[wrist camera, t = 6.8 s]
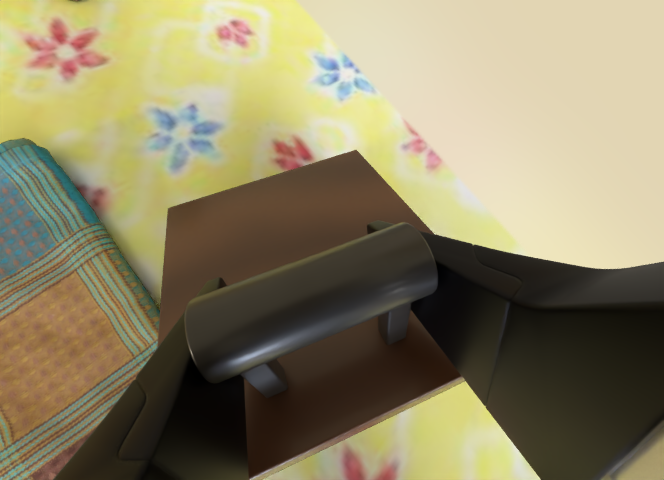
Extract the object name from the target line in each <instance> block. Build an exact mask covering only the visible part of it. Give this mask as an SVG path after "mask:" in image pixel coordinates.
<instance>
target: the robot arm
mask: <svg viewBox="0 0 664 480" xmlns="http://www.w3.org/2000/svg"><path fill="white" fill-rule="evenodd" d="M393 225H395V224H392V223H388V222H384V221H380V220H377V221H374V222H371V223H369V224H368V225H367V233H368V234H371V233H373V232H376V231H379V230H382V229H384V228H387V227H390V226H393ZM418 231H419V230H418ZM419 232H420V233H421V235H422V236H423V237H424V239H425V240H426V242H427V244H428V246H429V248H430V250H431V252H432V254H433V257H434V259H435V263H436V266H437V271H438V286H437V289H436V290H435V292H434V293H432V294H430V295H428V296H426V297H423V298H421V299H418V300H416V301H414V302H412V303H411V311H412V312H413V313H414V314H415V316H416V317H417V318H418V320H419V321H420V322H421V324H422V325H423V326H424V328H425V329H426V330H427V331H428V333H429V334H430V335H431V337H432V338H433V339H434V341H435V342H436V343H437V344H438V346H439V347H440V348H441V350H442V351H443V352H444V354H445V355H446V356H447V357H448V359H449V360H450V361H451V363H452V364H453V365H454V367H455V368H456V369H457V370H458V372H459V373H460V374H461V376H462V377H463V378H464V380H465V381H466V382H467V383H468V385H469V386H470V387H471V389H472V390H473V391H474V393H475V394H476V395H477V397H478V398H479V399H480V400H481V402H482V403H483V404H484V405H485V406H486V408H487V410H488V411H489V412H490V414H491V415H492V416H493V418H494V419H495V420H496V422H497V423H498V424H499V425H500V427H501V428H502V429H503V431H504V432H505V433H506V435H507V436H508V437H509V438H510V440H511V441H512V442H513V444H514V445H515V446H516V448H517V449H518V450H519V451H520V453H521V454H522V455H523V457H524V458H525V459H526V461H527V462H528V463H529V465H530V466H531V467H532V468H533V470H534V471H535V472H536V474H537V475H538V476H539V478H540V479H541V480H664V262H659V263H654V264H648V265H642V266H636V267H631V268H622V269H595V268H587V267H581V266H576V265H570V264H565V263H560V262H554V261H549V260H543V259H538V258H533V257H528V256H523V255H518V254H513V253H508V252H503V251H499V250H495V249H490V248H486V247H482V246H478V245H473V244H470V243H466V242H462V241H459V240H455V239H451V238H447V237H443V236H439V235H435V234H431V233H427V232H423V231H419ZM225 286H227V285H226V283H225V281H224V280H223V279H222V278H221V277H217V278H215V279H212V280H209V281H207V282H206V284H205V285H204V286H203V288H202V289H201V290H200V292H199V293H198V294H197V296H196V297H198V296H201V295H203V294H206V293H209V292H212V291H214V290H217V289H220V288H223V287H225ZM184 318H185V312H184V313H183V314H182V316H181V317H180V318H179V320H178V321H177V322H176V324H175V325H174V326H173V328H172V329H171V330H170V332H169V333H168V334H167V336H166V337H165V338H164V340H163V341H162V342H161V344H160V345H159V346H158V348H157V349H156V350H155V352H154V353H153V354H152V356H151V357H150V359H149V360H148V361H147V363H146V364H145V365H144V367H143V368H142V369H141V371H140V372H139V373H138V375H137V376H136V379H135V380H133V381H132V382H131V384H130V385H129V386H128V388H127V389H126V391H125V392H124V393H123V395H122V396H121V397H120V398H119V400H118V401H117V402H116V404H115V405H114V406H113V407H112V409H111V410H110V411H109V413H108V414H107V415H106V416H105V418H104V419H103V420H102V421H101V423H100V424H99V425H98V426H97V427H96V429H95V430H94V431H93V432H92V434H91V435H90V436H89V437H88V438H87V440H86V441H85V442H84V443H83V444H82V446H81V447H80V448H79V449H78V450H77V451H76V453H75V454H74V455H73V456H72V457H71V459H70V460H69V461H68V462H67V463H66V464H65V466H64V467H63V468H62V469H61V470H60V472H59V473H58V474H57V475H56V476H55V478H54V479H53V480H249V473H248V452H247V431H246V411H245V390H244V377H242V376H241V375H240V374H239V375H236V376H234V377H232V378H229V379H227V380H224V381H222V382H220V383H210V382H208V381H207V380H206V379H205V378H204V377H203V376H202V375H201V373H200V372H199V370H198V369H197V367H196V365H195V363H194V361H193V359H192V356H191V353H190V350H189V347H188V343H187V339H186V333H185V322H184Z"/></svg>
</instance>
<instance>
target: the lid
mask: <svg viewBox="0 0 664 480" xmlns="http://www.w3.org/2000/svg"><path fill="white" fill-rule="evenodd" d="M377 220H380V221H384V222H388V223H392V224H395V225H393V226H390V227H387V228H384V229H382V230H379V231H376V232H373V233H371V234H368V233H367V225H368V224H369V223H371V222H374V221H377ZM418 230H419V231H423V232H427V233H431V234H434V233H433V232H432V231H431V230H430V229H429V228H428V227H427V226H426V225H425V224H424V223H423V222H422V220H421V219H420V218H419V217H418V216H417V215H416V214H415V213H414V212H413V211H412V210H411V208H410V207H409V206H408V205H407V204H406V203H405V202H404V201H403V200H402V199H401V198H400V197H399V195H398V194H397V193H396V192H395V191H394V190H393V189H392V188H391V187H390V186H389V185H388V184H387V182H386V181H385V180H384V179H383V178H382V177H381V176H380V175H379V174H378V173H377V172H376V171H375V169H374V168H373V167H372V166H371V165H370V164H369V163H368V162H367V161H366V160H365V159H364V158H363V156H362V155H361V154H360V153H359V152H358V151H357V150H354V151H351V152H347V153H344V154H341V155H338V156H334V157H331V158H328V159H325V160H322V161H318V162H315V163H312V164H309V165H305V166H302V167H299V168H296V169H293V170H289V171H286V172H283V173H280V174H277V175H273V176H270V177H267V178H264V179H260V180H257V181H254V182H251V183H248V184H244V185H241V186H238V187H235V188H231V189H228V190H225V191H222V192H219V193H215V194H212V195H209V196H206V197H202V198H199V199H196V200H193V201H190V202H186V203H183V204H180V205H177V206H173V207H170V208H168V215H167V228H166V241H165V254H164V266H163V279H162V292H161V304H160V317H159V330H158V343H157V348H158V346H159V345H160V344H161V342H162V341H163V340H164V338H165V337H166V336H167V334H168V333H169V332H170V330H171V329H172V328H173V326H174V325H175V324H176V322H177V321H178V320H179V318H180V317H181V316H182V314H183V313H184V312H185V318H184V322H185V333H186V339H187V343H188V347H189V350H190V353H191V356H192V359H193V361H194V363H195V365H196V367H197V369H198V370H199V372H200V373H201V375H202V376H203V377H204V378H205V379H206V380H207V381H208V382H210V383H220V382H222V381H224V380H227V379H229V378H232V377H234V376H236V375H239V374H240V375H241V376H242V377H244V390H245V411H246V431H247V452H248V473H249V480H262V479H264V478H266V477H268V476H270V475H272V474H274V473H276V472H278V471H281V470H283V469H285V468H287V467H289V466H291V465H293V464H295V463H297V462H299V461H301V460H303V459H305V458H307V457H309V456H312V455H314V454H316V453H318V452H320V451H322V450H324V449H326V448H328V447H330V446H332V445H334V444H336V443H338V442H340V441H343V440H345V439H347V438H349V437H351V436H353V435H355V434H357V433H359V432H361V431H363V430H365V429H367V428H369V427H372V426H374V425H376V424H378V423H380V422H382V421H384V420H386V419H388V418H390V417H392V416H394V415H396V414H398V413H400V412H403V411H405V410H407V409H409V408H411V407H413V406H415V405H417V404H419V403H421V402H423V401H425V400H427V399H429V398H431V397H434V396H436V395H438V394H440V393H442V392H444V391H446V390H448V389H450V388H452V387H454V386H456V385H458V384H460V383H462V382H465V380H464V378H463V377H462V376H461V374H460V373H459V372H458V370H457V369H456V368H455V367H454V365H453V364H452V363H451V361H450V360H449V359H448V357H447V356H446V355H445V354H444V352H443V351H442V350H441V348H440V347H439V346H438V344H437V343H436V342H435V341H434V339H433V338H432V337H431V335H430V334H429V333H428V331H427V330H426V329H425V328H424V326H423V325H422V324H421V322H420V321H419V320H418V318H417V317H416V316H415V314H414V313H413V312H412V311H411V303H412V302H414V301H416V300H418V299H421V298H423V297H426V296H428V295H430V294H432V293H434V292H435V290H436V289H437V286H438V271H437V266H436V263H435V259H434V257H433V254H432V252H431V250H430V248H429V246H428V244H427V242H426V240H425V239H424V237H423V236H422V235H421V233H420V232H419V231H418ZM217 277H221V278H222V279H223V280H224V281H225V283H226V285H227V286H225V287H223V288H220V289H217V290H214V291H212V292H209V293H206V294H203V295H201V296H198V297H196V296H197V294H198V293H199V292H200V290H201V289H202V288H203V286H204V285H205V284H206V282H207V281H209V280H212V279H215V278H217Z"/></svg>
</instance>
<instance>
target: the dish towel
mask: <svg viewBox="0 0 664 480" xmlns="http://www.w3.org/2000/svg"><path fill="white" fill-rule="evenodd" d="M159 317H160V311H159V309H158V308H157V305H156V304H155V303H154V301H153V300H152V299H151V297H150V295H149V293H148V292H147V291H146V289H145V287H144V286H143V284H142V283H141V282H140V280H139V279H138V277H137V276H136V275H135V273H134V272H133V271H132V270H131V268H130V266H129V265H128V263H127V262H126V261H125V259H124V258H123V256H122V254H121V252H120V250H119V249H118V247H117V246H116V244H115V243H114V241H113V240H112V238H111V237H110V235H109V234H108V232H107V231H106V229H105V228H104V226H103V225H102V223H101V222H100V221H99V219H98V218H97V216H96V214H95V212H94V211H93V209H92V208H91V207H90V205H89V204H88V203H87V201H86V200H85V199H84V197H83V196H82V195H81V193H80V192H79V191H78V190H77V188H76V187H75V185H74V184H73V182H72V181H71V180H70V178H69V177H68V176H67V175H66V174H65V172H64V171H63V170H62V168H61V167H60V166H59V165H58V164H57V163H56V162H55V161H54V159H53V158H52V156H51V155H50V153H49V152H48V150H47V149H45V148H42V147H39V146H37V145H36V144H35V143H34V142H32V141H31V140H29V139H24V138H22V139H17V140H9V141H6V142H3V143H1V144H0V480H53V479H54V478H55V476H56V475H57V474H58V473H59V472H60V470H61V469H62V468H63V467H64V466H65V464H66V463H67V462H68V461H69V460H70V459H71V457H72V456H73V455H74V454H75V453H76V451H77V450H78V449H79V448H80V447H81V446H82V444H83V443H84V442H85V441H86V440H87V438H88V437H89V436H90V435H91V434H92V432H93V431H94V430H95V429H96V427H97V426H98V425H99V424H100V423H101V421H102V420H103V419H104V418H105V416H106V415H107V414H108V413H109V411H110V410H111V409H112V407H113V406H114V405H115V404H116V402H117V401H118V400H119V398H120V397H121V396H122V395H123V393H124V392H125V391H126V389H127V388H128V386H129V385H130V384H131V382H132V381H133V380H135V379H136V376H137V375H138V373H139V372H140V371H141V369H142V368H143V367H144V365H145V364H146V363H147V361H148V360H149V359H150V357H151V356H152V354H153V353H154V352H155V350H156V349H157V343H158V330H159Z"/></svg>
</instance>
